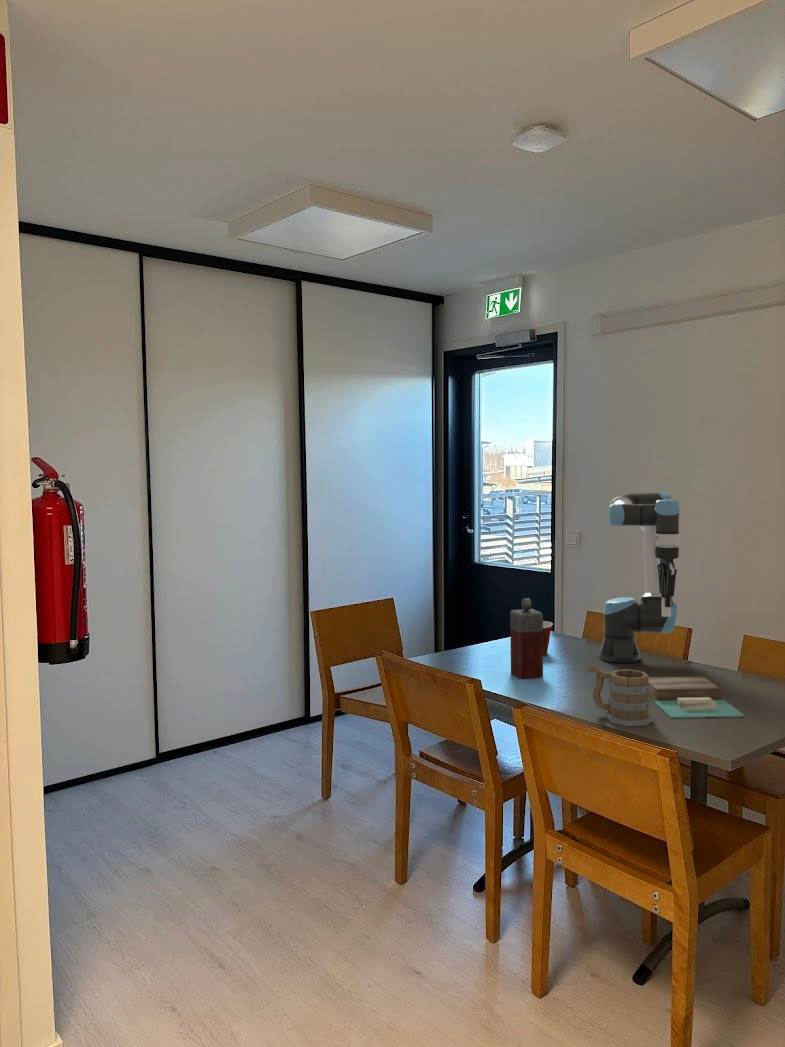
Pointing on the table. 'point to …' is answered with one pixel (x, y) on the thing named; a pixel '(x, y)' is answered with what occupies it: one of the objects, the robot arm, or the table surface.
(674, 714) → the mat
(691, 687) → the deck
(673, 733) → the table surface
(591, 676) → the table surface
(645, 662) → the table surface
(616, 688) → the tankard
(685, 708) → the tile
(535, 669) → the toy vending machine
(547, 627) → the plastic cup
